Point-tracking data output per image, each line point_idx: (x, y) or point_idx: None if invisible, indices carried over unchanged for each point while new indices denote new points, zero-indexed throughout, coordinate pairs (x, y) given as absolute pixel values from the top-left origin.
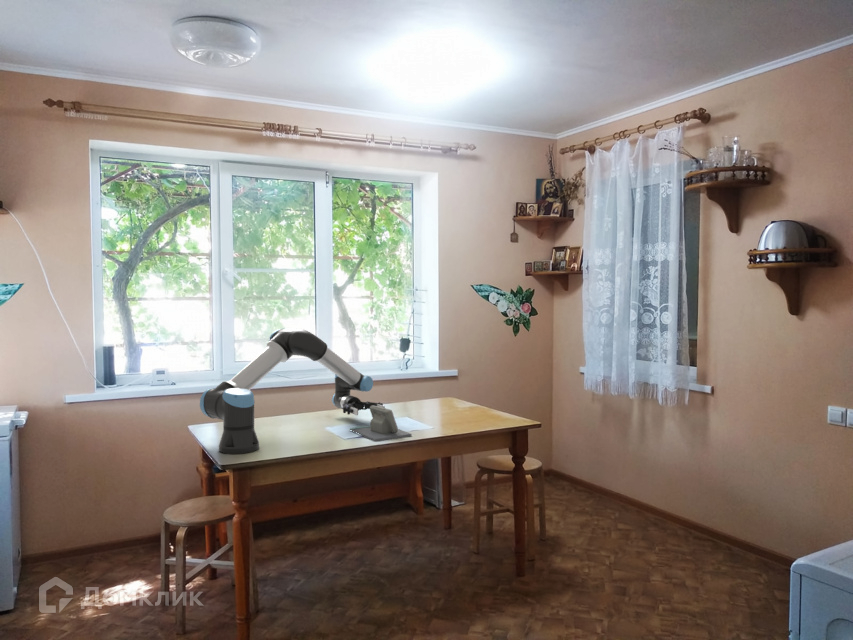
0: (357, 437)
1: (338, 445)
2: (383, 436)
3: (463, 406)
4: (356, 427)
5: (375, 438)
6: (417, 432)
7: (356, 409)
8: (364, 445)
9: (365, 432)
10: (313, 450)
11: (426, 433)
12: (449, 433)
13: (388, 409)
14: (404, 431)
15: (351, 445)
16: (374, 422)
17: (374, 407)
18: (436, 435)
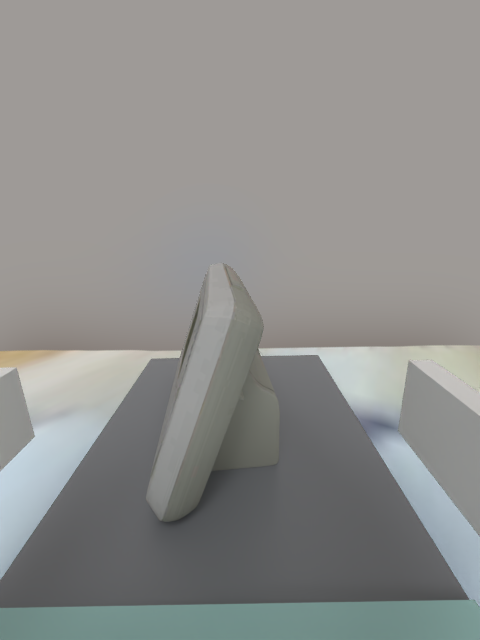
0: (387, 423)
1: (472, 368)
2: (269, 365)
3: None
4: (401, 629)
5: (311, 357)
6: (73, 392)
7: (433, 362)
8: (363, 349)
9: (330, 436)
10: None
11: (70, 373)
12: (25, 354)
13: (220, 263)
14: (135, 385)
15: (413, 358)
16: (268, 376)
17: (244, 292)
18: (82, 353)
